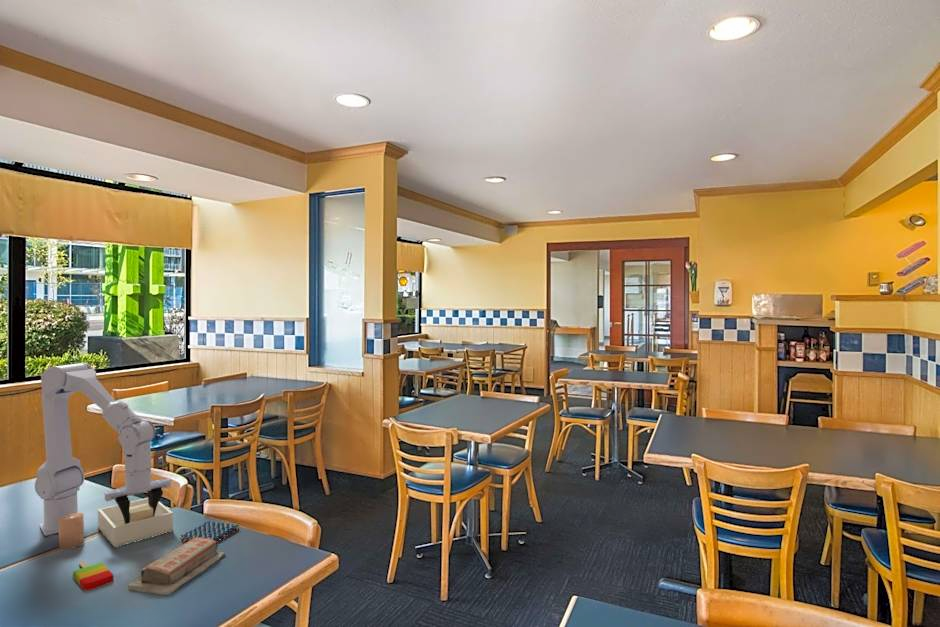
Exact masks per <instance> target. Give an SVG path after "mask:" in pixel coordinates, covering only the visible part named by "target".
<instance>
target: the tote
mask: <svg viewBox="0 0 940 627" xmlns="http://www.w3.org/2000/svg"><path fill="white" fill-rule="evenodd" d="M146 503H148V504H149V502H148V497H145V498H141V499H136V500H132V501H130V507H134V506H138V505H142V504H146ZM97 521H98V522H97V526H98V527H97V528H98V529H99V531H100V532H101V533H102V534H103V536H104V535H105V536H106V537H107V538H108V539H109V541H110V542H111V543H110V542H109V541H108V542H109V543H110V545H111V544H112V545H113V546H114V547H116V548H118V547H117V546H120V545H123V544H126V543H130V542H134V541H138V540H141V539H145V538H148V537H152V536H156V535H159V534H162V533H165V532H170V531H173V532H174V513H173V511H172V510H170V509H169V508H168V507H166V505H164V504H163V503H162V502H161V501H159V502H158V505H157V507H156V511H155V515H154V517H151V518H147V519H143V520H139V521H135V522H131V523H127V524H125V522H124V518H123V515H122V512H121V510H120V508H119V506H118V504H114V505H111V506H107V507H103V508H102V507H101V508H97ZM170 533H171V532H170ZM105 536H104V537H105ZM159 536H160V535H159ZM106 537H105V538H106ZM156 537H157V536H156ZM107 538H106V539H107ZM152 538H153V537H152ZM148 539H149V538H148ZM145 540H146V539H145ZM141 541H142V540H141ZM138 542H139V541H138ZM134 543H135V542H134ZM112 545H111V546H112ZM113 546H112V547H113ZM114 547H113V548H114ZM120 547H121V546H120Z"/></svg>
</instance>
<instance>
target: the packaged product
mask: <svg viewBox="0 0 940 627" xmlns="http://www.w3.org/2000/svg"><path fill="white" fill-rule="evenodd" d="M217 550H218V545H217V543H216V541H215V540H213V539H212V538H203V537H195V538H193V539H191V540H189V541H187V542H183V543H182V544H180V545H179V546H178V547H176V548H174V549H172V550H171V551H169V552H167V553H166V554H164V555H162V556H161V557H160V558H159V557H158V559H156V560H154V561H152V562H151V563H149V564H147V565H145V566H144V567H143V568H142V569H141V570H140V576H139V577H138V578H136V579H134V580H133V581H131V582H129V583H128V584H127V586H128V590H129V591H133V590H136V591H135V592H140V591H144V592H143V593H147V592H149V593H148V594H158V595H163V596H168V595H170V594H172V593H173V592H174V591H176V590H177V589H178V588H180V587H181V586H182V585H184V584H186V583H187V582H189V581H191V580H192V579H193V578H194V577H196V576H197V575H200V574H201V573H202V572H204V571H205V570H207V569H208V568H209V567H211V566H212V565H214V563H216V562H217V561H219V560H220V558H221V557H222V556H223V557H225V556H226V552H223V551H217ZM224 555H225V556H224ZM223 557H222V558H223ZM222 558H221V559H222Z"/></svg>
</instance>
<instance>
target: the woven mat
mask: <svg viewBox="0 0 940 627" xmlns="http://www.w3.org/2000/svg"><path fill="white" fill-rule="evenodd" d="M239 526H240V525H239V524H235V523H231V524H230V523H225V522H221V521H218V522H216V521H205V522H204V523H203V524H200V525H199V526H197V527H195V528H194V529H190V531H189V532H188V531H187V532H186V531H185V532H186V533H185V534H181V535H180V536H181V537H180V538H179V540H181V541H182V540H183V541H182V543H186V542H185V541H187V542H188V541H189V540H191V539H193V538H195V537H203V538H212V539H213V540H215V541H216V544H218V543H219V542H221V540H219V539H222V538H223V539H225V538H224V537H226V538H227V537H228V536H227V535H229V536H230V535H232V534H234V533H235V532H236V531H238V530H237V529H239V530H240V528H239ZM235 530H236V531H235ZM233 532H234V533H233ZM231 533H232V534H231ZM223 539H222V540H223ZM217 541H219V542H217Z"/></svg>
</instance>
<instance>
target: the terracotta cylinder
mask: <svg viewBox="0 0 940 627" xmlns="http://www.w3.org/2000/svg"><path fill="white" fill-rule="evenodd" d="M84 518H85V517H84V513H82V512H78V513H72V514H68V515H64V516H62V517H60V518H59V519H58V520H59V533H58V542H59V543H58V548H59V549H60V550H69V549H68V548H71V549H74V548H73V547H75V548H77V546H78V547H79V545H80V546H82V545H83V544H85V529H84V528H85V526H84V524H85V523H84V522H85V521H84ZM81 544H82V545H81Z"/></svg>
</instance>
